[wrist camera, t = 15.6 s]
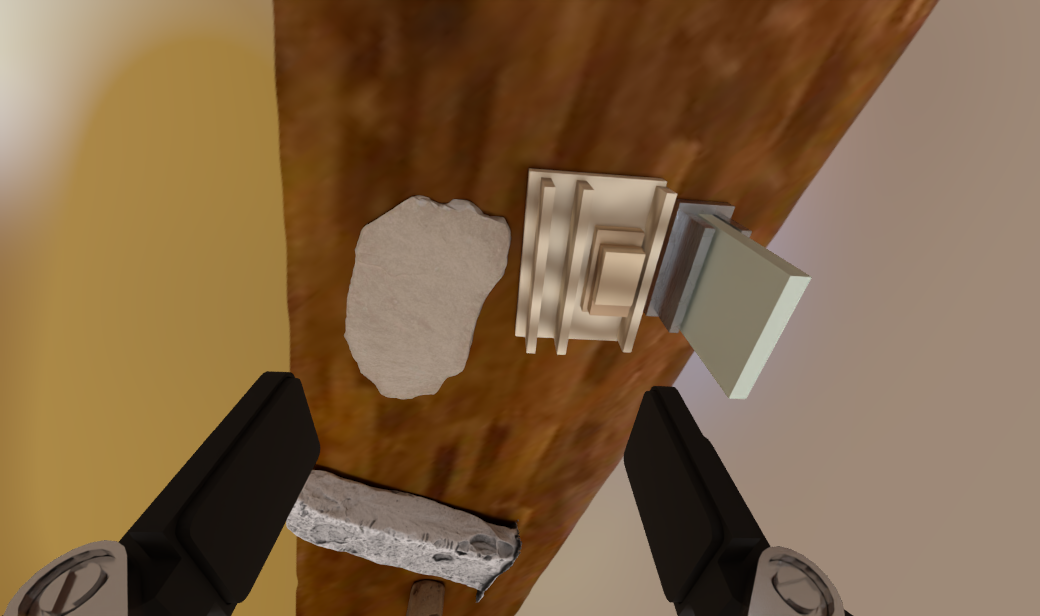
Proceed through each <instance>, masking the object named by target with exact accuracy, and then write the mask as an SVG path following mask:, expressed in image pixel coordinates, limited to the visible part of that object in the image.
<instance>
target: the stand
mask: <svg viewBox="0 0 1040 616" xmlns="http://www.w3.org/2000/svg"><path fill="white" fill-rule="evenodd" d="M734 208H735V206H733V205H731V204H729V203H724V202H710V201H696V200H683V199H676V200H675V203H674V207H673V210H672V214H671V217H670V220H669V224H668V227H667V231H666V234H665V238H664V241H663V244H662V248H661V251H660V255H659V258H658V261H657V265H656V268H655V272H654V275H653V279H652V282H651V285H650V289H649V292H648V296H647V299H646V303H645V306H644V309H643V311H644V313H645V314H646V316H659V318H660V319H661V321H662V322H663V324H664V325H665V327H666V328H667V330H668V331H669V332H671V333H678V331H679V329H680V326H681V323H682V320H683V318H684V315H685V312H686V309H687V307H688V304H689V301H690V298H691V295H692V293H693V290H694V287H695V284H696V282H697V279H698V276H699V273H700V271H701V268H702V265H703V262H704V260H705V257H706V254H707V251H708V249H709V246H710V243H711V240H712V238H713V235H714V232H715V228H714V227H712V226H711V225H709V224H708V223H706V222H705V221H704V220H702V219H701V218H699V217H698V216H697V214H708V215H713V216H715V217H716V218H718V219H720V220H721V221H723V222H724V223H726V224H728V225H729V226H731V227H732V228H734V229H736V230H737V231H739V232H740V233H742V234H744V235H745V236H747V237H748V238H749V237H750V235H751V233H752V231H751V230H749V229H747V228H746V227H744V226H742V225H741V224H739V223H737V222H736V221H734V220H732V219H731V216H732V214H733V211H734Z"/></svg>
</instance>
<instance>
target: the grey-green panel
mask: <svg viewBox="0 0 1040 616" xmlns="http://www.w3.org/2000/svg"><path fill="white" fill-rule="evenodd" d="M697 216H698V217H699V218H701V219H702V220H704V221H705V222H706V223H708V224H709V225H711V226H712V227H714V228H715V232H714V235H713V238H712V240H711V243H710V246H709V249H708V251H707V254H706V257H705V260H704V262H703V265H702V268H701V271H700V273H699V276H698V279H697V282H696V284H695V287H694V290H693V293H692V295H691V298H690V301H689V304H688V307H687V309H686V312H685V315H684V318H683V320H682V323H681V326H680V331H681V332H682V333H683V335H684V336H685V338H686V339H687V340H688V342H689V343H690V345H691V346H692V347H693V349H694V350H695V352H696V353H697V354H698V356H699V357H700V359H701V360H702V361H703V363H704V364H705V366H706V367H707V369H708V370H709V371H710V373H711V374H712V376H713V377H714V378H715V380H716V381H717V383H718V384H719V385H720V387H721V388H722V390H723V391H724V392H725V394H726V395H727V397H728V398H732V399H746V398H747V396H748V395H749V393H750V391H751V389H752V387H753V385H754V383H755V381H756V380H757V378H758V376H759V374H760V372H761V370H762V368H763V367H764V365H765V363H766V361H767V359H768V357H769V356H770V354H771V352H772V350H773V348H774V346H775V344H776V342H777V341H778V339H779V337H780V335H781V333H782V331H783V330H784V328H785V326H786V324H787V322H788V320H789V319H790V317H791V315H792V313H793V311H794V309H795V307H796V306H797V304H798V302H799V300H800V298H801V296H802V294H803V293H804V291H805V289H806V287H807V285H808V283H809V281H810V280H811V278H812V277H811V276H809V275H807V274H806V273H804V272H803V271H801V270H800V269H798V268H796V267H795V266H793V265H792V264H790V263H788V262H786V261H785V260H784V259H782V258H780V257H779V256H777V255H776V254H774V253H772V252H771V251H769V250H768V249H766V248H764V247H763V246H761V245H760V244H758V243H756V242H755V241H753V240H752V239H750V238H748V237H747V236H745V235H744V234H742V233H740V232H739V231H737V230H736V229H734V228H732V227H731V226H729V225H728V224H726V223H724V222H723V221H721V220H720V219H718V218H716V217H715V216H713V215H708V214H697Z"/></svg>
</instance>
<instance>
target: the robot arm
mask: <svg viewBox="0 0 1040 616" xmlns="http://www.w3.org/2000/svg"><path fill="white" fill-rule="evenodd" d="M319 454H320V443H319V440H318V436H317V433H316V430H315V427H314V423H313V420H312V417H311V413H310V410H309V407H308V404H307V400H306V397H305V394H304V390H303V387H302V384H301V381H300V379H298V378H295V377H294V375H293V374H292V373H291V372H268V371H267V372H265V373H263V374H262V375H261V376H260V377H259V378H258V380H257V381H256V382H255V383H254V384H253V385H252V387H251V388H250V389H249V390H248V391H247V393H246V394H245V395H244V396H243V397H242V398H241V400H240V401H239V402H238V403H237V404H236V405H235V407H234V408H233V409H232V410H231V411H230V413H229V414H228V415H227V416H226V417H225V418H224V419H223V421H222V422H221V423H220V424H219V426H218V427H217V428H216V429H215V430H214V431H213V432H212V433H211V434H210V436H209V437H208V438H207V439H206V440H205V441H204V443H203V444H202V445H201V446H200V447H199V448H198V450H197V451H196V452H195V453H194V454H193V456H192V457H191V458H190V459H189V460H188V461H187V463H186V464H185V465H184V466H183V467H182V468H181V470H180V471H179V472H178V473H177V474H176V475H175V477H174V478H173V479H172V480H171V481H170V482H169V484H168V485H167V486H166V487H165V488H164V490H163V491H162V492H161V493H160V494H159V495H158V496H157V498H156V499H155V500H154V501H153V502H152V503H151V505H150V506H149V507H148V508H147V509H146V511H145V512H144V513H143V514H142V515H141V516H140V518H139V519H138V520H137V521H136V522H135V523H134V525H133V526H132V527H131V528H130V529H129V530H128V532H127V533H126V534H125V535H124V536H123V537H122V539H121V540H120V541H119V542H117V541H107V540H104V541H98V542H93V543H89V544H86V545H83V546H81V547H78V548H76V549H73V550H71V551H69V552H67V553H66V554H64V555H62V556H60V557H58V558H57V559H55V560H53V561H52V562H50V563H49V564H48V565H46V566H45V567H44V568H42V569H41V570H39V571H38V572H37V573H35V574H34V575H33V576H32V577H31V578H30V579H29V580H28V581H27V582H26V583H25V584H24V585H23V586H22V587H21V588H20V589H19V591H18V592H17V593H16V594H15V596H14V597H13V598H12V600H11V601H10V602H9V604H8V606H7V609H6V611H5V613H4V615H3V616H231V614H232V613H233V611H234V609H235V607H236V605H237V603H240V602H242V601H244V600H245V599H246V597H247V596H248V594H249V593H250V591H251V589H252V587H253V585H254V583H255V581H256V579H257V577H258V575H259V573H260V571H261V569H262V567H263V565H264V563H265V561H266V560H267V558H268V555H269V554H270V552H271V550H272V548H273V546H274V544H275V542H276V540H277V538H278V536H279V534H280V532H281V530H282V528H283V526H284V524H285V522H286V520H287V518H288V516H289V514H290V512H291V511H292V509H293V507H294V505H295V503H296V501H297V499H298V497H299V495H300V493H301V491H302V489H303V487H304V485H305V483H306V481H307V479H308V477H309V475H310V473H311V471H312V469H313V467H314V465H315V463H316V461H317V459H318V457H319ZM624 465H625V468H626V472H627V475H628V478H629V481H630V484H631V488H632V491H633V494H634V497H635V501H636V504H637V507H638V510H639V513H640V517H641V520H642V523H643V526H644V530H645V533H646V536H647V539H648V543H649V546H650V549H651V552H652V555H653V559H654V562H655V565H656V568H657V572H658V575H659V578H660V581H661V585H662V588H663V591H664V594H665V596H666V598H667V600H668V601H669V602H673V603H674V605H675V609H676V611H677V615H678V616H853V615H851V614H850V613H848V612H847V611H846V610H844V608H843V602H842V600H841V598H840V596H839V594H838V591H837V589H836V588H835V586H834V585H833V584H832V582H831V581H830V579H829V578H828V577H827V575H825V573H824V572H823V571H822V570H821V569H820V568H819V567H818V566H817V565H816V564H814V563H813V562H812V561H810V560H809V559H808V558H806V557H805V556H804V555H802V554H800V553H797V552H796V551H794V550H792V549H788V548H784V547H780V546H777V547H770V545H769V543H768V541H767V540H766V538H765V536H764V535H763V533H762V531H761V529H760V528H759V526H758V524H757V522H756V521H755V519H754V517H753V515H752V514H751V512H750V510H749V508H748V507H747V505H746V503H745V502H744V500H743V498H742V496H741V494H740V493H739V491H738V489H737V487H736V486H735V484H734V482H733V480H732V479H731V477H730V475H729V473H728V472H727V470H726V468H725V466H724V465H723V463H722V461H721V459H720V458H719V456H718V454H717V452H716V451H715V449H714V447H713V445H712V444H711V443H710V441H709V440H708V439H707V438H705V437H704V436H703V435H702V433H701V431H700V429H699V427H698V426H697V424H696V422H695V420H694V419H693V417H692V415H691V413H690V411H689V410H688V408H687V406H686V405H685V403H684V401H683V399H682V397H681V395H680V394H679V392H678V390H677V389H676V388H675V387H665V386H653V387H652V388H651V390H650V391H646V392H645V394H644V396H643V399H642V402H641V405H640V408H639V411H638V414H637V417H636V420H635V423H634V425H633V428H632V431H631V434H630V437H629V440H628V443H627V446H626V449H625V452H624Z"/></svg>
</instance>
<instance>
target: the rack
mask: <svg viewBox="0 0 1040 616" xmlns="http://www.w3.org/2000/svg"><path fill="white" fill-rule="evenodd" d="M666 183H667V181H665V180H664V179H662V178H650V177H637V176H624V175H611V174H597V173H584V172H571V171H558V170H545V169H531V168H529V173H528V185H527V196H526V208H525V220H524V232H523V243H522V255H521V267H520V279H519V290H518V302H517V314H516V326H515V336H523V337H525V338H526V352H527V353H535V350H536V342H537V337H545V338H554V341H555V346H556V351H557V354H562V355H565V354H566V349H567V343H568V339H589V340H611V341H618V342H619V344H620V347H621V349H622V351H623V352H631V350H632V347H633V344H634V340H635V337H636V333H637V330H638V327H639V323H640V320H641V316H642V313H643V309H644V306H645V303H646V299H647V296H648V292H649V289H650V285H651V282H652V279H653V275H654V272H655V268H656V265H657V261H658V258H659V255H660V251H661V248H662V244H663V241H664V238H665V234H666V231H667V227H668V224H669V220H670V217H671V214H672V210H673V207H674V203H675V200H676V196H677V193H675V192H673V191H672V190H670V189H669V188H667V187H666ZM595 225H600V226H615V227H630V228H641V229H642V230H643V231H644V232H645V235H644V238H643V242H642V246H641V248H642V249H643V250H644V251H645V254H646V255H645V259H644V263H643V266H642V270H641V274H640V277H639V281H638V285H637V288H636V292H635V296H634V299H633V303H632V306H630V309H629V313H628V317H616V316H596V315H589V312H582V310H581V307H580V303H581V297H582V292H583V287H584V281H585V276H586V271H587V265H588V260H589V255H590V249H591V244H592V239H593V233H594V228H595Z"/></svg>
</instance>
